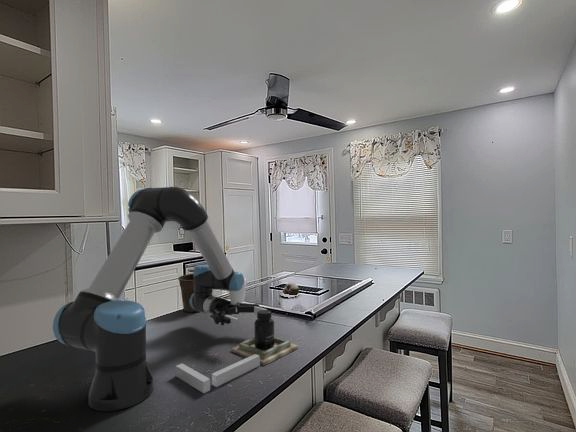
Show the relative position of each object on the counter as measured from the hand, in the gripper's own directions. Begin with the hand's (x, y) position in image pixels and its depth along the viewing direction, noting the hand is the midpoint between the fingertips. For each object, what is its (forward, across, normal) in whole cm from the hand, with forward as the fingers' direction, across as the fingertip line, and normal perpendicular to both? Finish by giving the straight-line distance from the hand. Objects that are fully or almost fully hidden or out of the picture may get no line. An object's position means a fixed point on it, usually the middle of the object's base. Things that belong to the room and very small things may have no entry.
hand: (252, 317), depth 115 cm
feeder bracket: (+6, +19, -10) cm, 22 cm away
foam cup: (-45, -29, -10) cm, 55 cm away
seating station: (+6, 0, -10) cm, 11 cm away
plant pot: (-55, -11, -10) cm, 57 cm away
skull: (-36, -59, -10) cm, 70 cm away
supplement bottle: (+6, 0, -9) cm, 11 cm away
